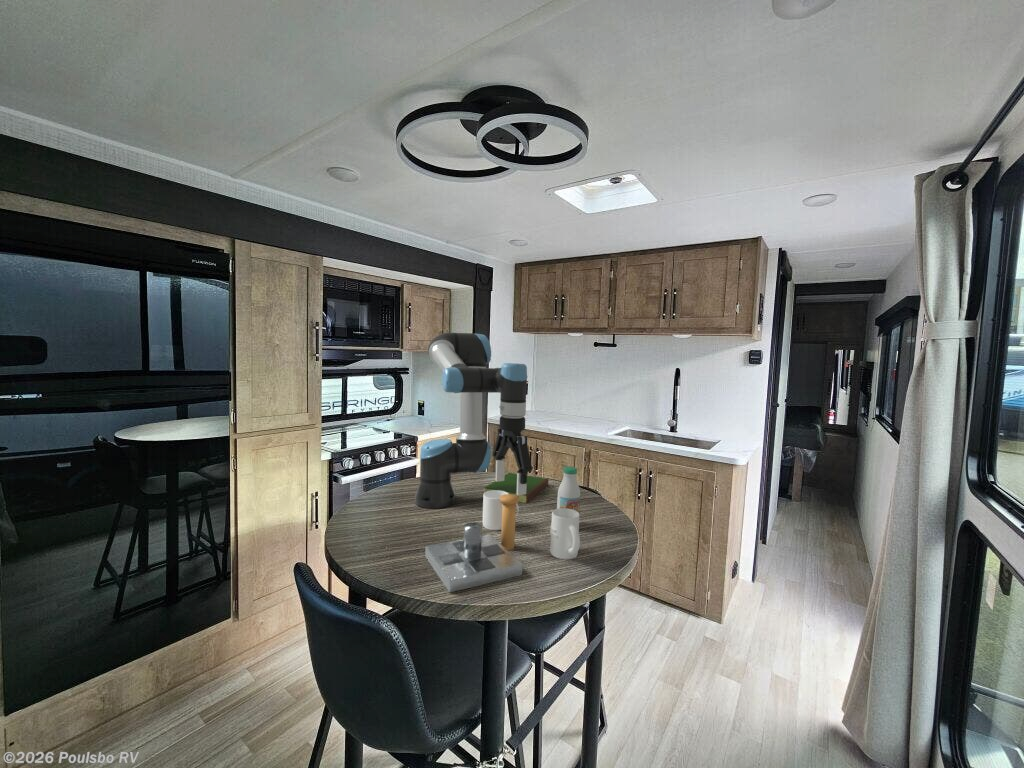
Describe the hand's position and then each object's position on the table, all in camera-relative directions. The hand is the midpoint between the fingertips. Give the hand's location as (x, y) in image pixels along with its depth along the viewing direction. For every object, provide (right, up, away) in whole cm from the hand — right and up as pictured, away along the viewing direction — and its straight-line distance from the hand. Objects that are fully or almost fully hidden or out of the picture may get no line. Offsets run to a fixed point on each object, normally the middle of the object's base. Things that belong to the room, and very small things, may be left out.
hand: (510, 487), depth 128 cm
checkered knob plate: (-10, -19, -10) cm, 24 cm away
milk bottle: (+19, -18, +19) cm, 32 cm away
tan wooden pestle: (-1, -18, +2) cm, 18 cm away
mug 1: (-3, -17, +17) cm, 24 cm away
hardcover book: (+3, -15, +54) cm, 56 cm away
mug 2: (+16, -19, -3) cm, 25 cm away
